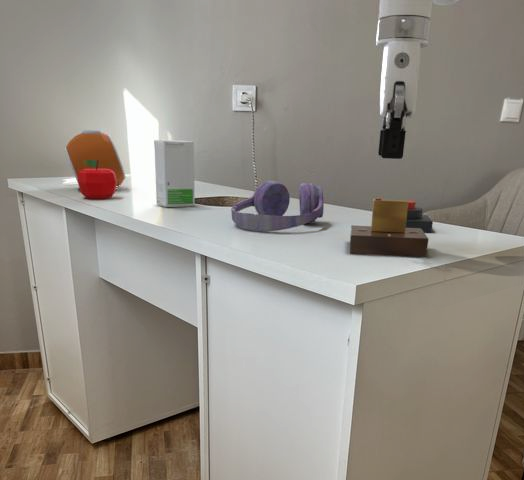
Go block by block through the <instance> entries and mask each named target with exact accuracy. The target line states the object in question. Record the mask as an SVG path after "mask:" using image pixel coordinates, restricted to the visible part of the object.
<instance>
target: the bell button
mask: <svg viewBox="0 0 524 480" xmlns="http://www.w3.org/2000/svg"><path fill="white" fill-rule="evenodd" d="M407 201H408V210H414V209H415V207H416V204H417V202H416V201H414V200H407Z"/></svg>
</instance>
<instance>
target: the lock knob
mask: <svg viewBox="0 0 524 480" xmlns="http://www.w3.org/2000/svg"><path fill="white" fill-rule="evenodd" d="M408 201H409V200H406V199H405V200H404V199H382V197H374V199H373V200H372V213H371V223H370V226H371V231H377V232H400V233H405V228H406V219H407V210H408Z"/></svg>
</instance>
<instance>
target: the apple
mask: <svg viewBox="0 0 524 480" xmlns="http://www.w3.org/2000/svg"><path fill="white" fill-rule="evenodd" d="M98 161H99V160H97V162H96V161H95V160H88V161H83V162H84V163H86V164H87V165H89V166H90V167H94V168H95V167H96V169H83V170H81V171H80V172H78V182H77V184H78V187H79V191H80V193H81V195H82V196H83V197H84V198H86V199H88V198H89V199H90V200H105V199H106V198H108V199H111V198H112V197H113V196H114V195H115V193H116V191H117V189H116V183H117V179H116V175H115V172H114V171H112V170H110V169H97V168H98ZM110 197H111V198H110ZM106 200H107V199H106Z"/></svg>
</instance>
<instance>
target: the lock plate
mask: <svg viewBox="0 0 524 480" xmlns="http://www.w3.org/2000/svg"><path fill="white" fill-rule="evenodd" d="M349 237H350V238H349V254H350V255H364V256H365V255H366V256H389V257H407V258H408V257H410V258H427V253H428V245H429V237H428V236H427V235H426V232H423V230H422V229H421V228H405V233H400V232H377V231H371V225H350V236H349Z"/></svg>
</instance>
